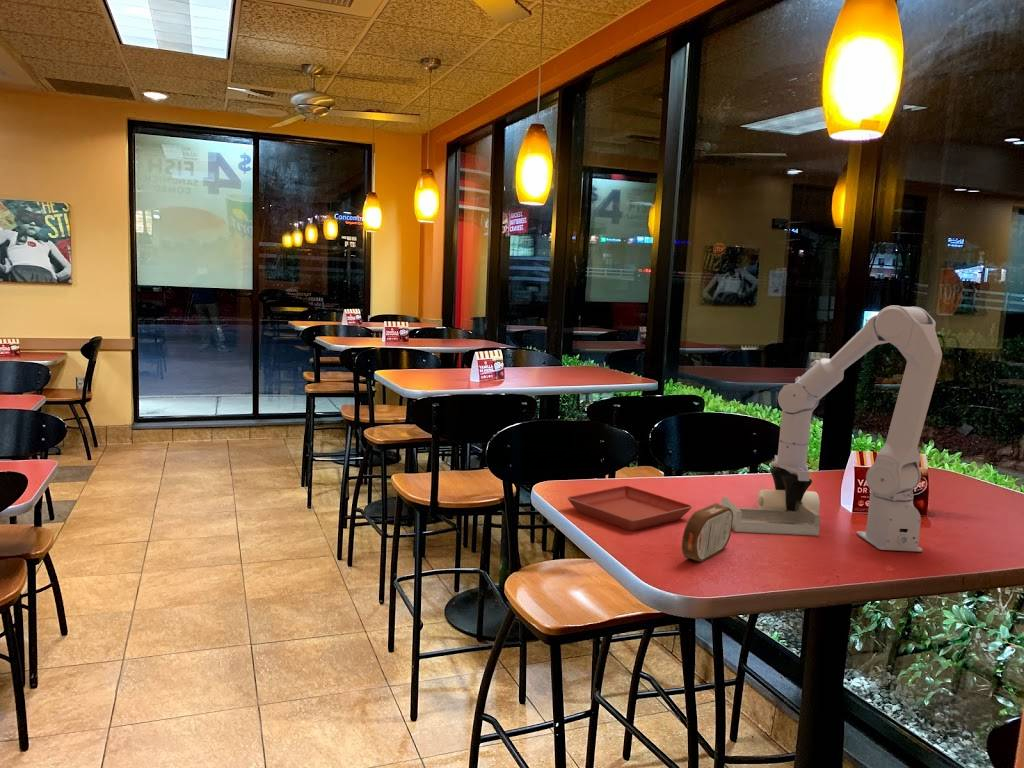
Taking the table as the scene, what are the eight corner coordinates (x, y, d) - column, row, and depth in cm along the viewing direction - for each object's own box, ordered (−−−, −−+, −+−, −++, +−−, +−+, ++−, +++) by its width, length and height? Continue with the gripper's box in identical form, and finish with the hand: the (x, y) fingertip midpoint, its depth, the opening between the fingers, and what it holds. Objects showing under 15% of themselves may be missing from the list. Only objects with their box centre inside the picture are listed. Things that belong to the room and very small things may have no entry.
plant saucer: (632, 537, 141) (633, 519, 140) (564, 512, 154) (565, 496, 154) (693, 522, 152) (694, 505, 152) (625, 500, 166) (626, 485, 166)
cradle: (818, 535, 146) (820, 515, 145) (734, 531, 146) (736, 511, 145) (798, 519, 156) (800, 500, 155) (720, 516, 156) (721, 497, 155)
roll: (820, 517, 157) (821, 492, 157) (764, 515, 156) (765, 490, 157) (810, 514, 162) (811, 490, 162) (756, 511, 161) (756, 488, 162)
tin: (717, 543, 138) (721, 498, 137) (733, 547, 136) (737, 501, 135) (678, 563, 127) (682, 514, 126) (695, 569, 125) (700, 518, 124)
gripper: (762, 434, 165) (756, 495, 166) (787, 448, 150) (780, 515, 152) (795, 436, 165) (788, 497, 166) (823, 450, 150) (815, 517, 152)
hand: (787, 506), depth 159 cm, fingers closed on roll, 5 cm apart
